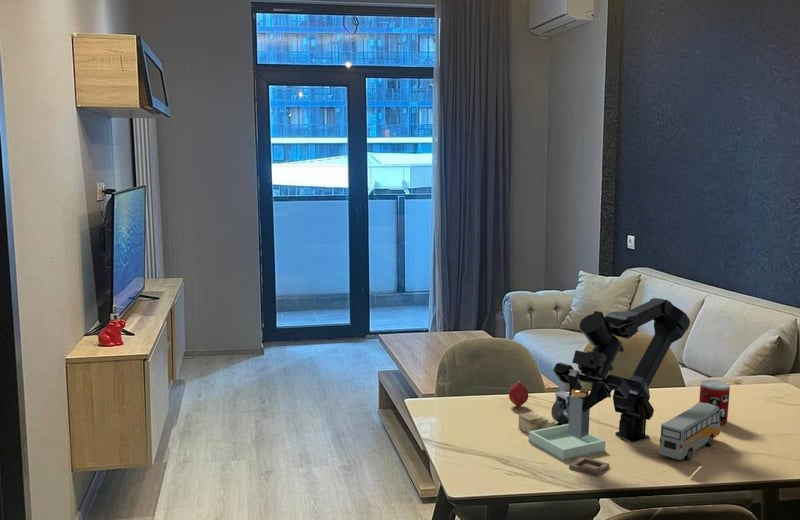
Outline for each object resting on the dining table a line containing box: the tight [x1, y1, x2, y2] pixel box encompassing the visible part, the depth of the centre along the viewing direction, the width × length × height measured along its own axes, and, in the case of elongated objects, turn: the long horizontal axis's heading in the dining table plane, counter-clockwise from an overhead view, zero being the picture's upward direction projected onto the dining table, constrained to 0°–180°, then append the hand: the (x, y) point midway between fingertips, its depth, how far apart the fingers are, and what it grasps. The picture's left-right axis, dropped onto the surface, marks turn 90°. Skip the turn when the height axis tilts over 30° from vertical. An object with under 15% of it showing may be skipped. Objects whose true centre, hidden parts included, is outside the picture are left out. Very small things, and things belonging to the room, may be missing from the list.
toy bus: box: [658, 401, 725, 462], centre depth 185 cm, size 7×26×10 cm, turn 136°
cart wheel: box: [551, 390, 569, 425], centre depth 203 cm, size 7×5×8 cm
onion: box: [508, 380, 529, 408], centre depth 216 cm, size 6×6×8 cm
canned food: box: [698, 379, 731, 426], centre depth 206 cm, size 8×8×11 cm
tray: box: [528, 424, 606, 461], centre depth 186 cm, size 14×14×3 cm
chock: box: [517, 411, 556, 434], centre depth 198 cm, size 8×5×4 cm, turn 117°
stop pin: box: [568, 387, 591, 438], centre depth 176 cm, size 4×4×11 cm
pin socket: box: [568, 456, 610, 478], centre depth 172 cm, size 7×7×1 cm
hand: (576, 409), depth 175 cm, fingers closed on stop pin, 3 cm apart
